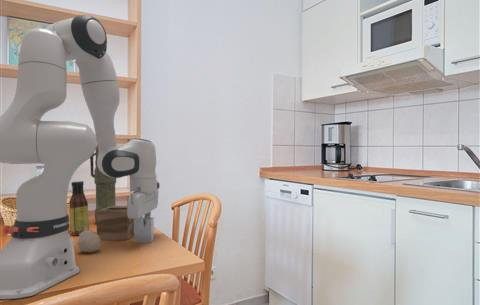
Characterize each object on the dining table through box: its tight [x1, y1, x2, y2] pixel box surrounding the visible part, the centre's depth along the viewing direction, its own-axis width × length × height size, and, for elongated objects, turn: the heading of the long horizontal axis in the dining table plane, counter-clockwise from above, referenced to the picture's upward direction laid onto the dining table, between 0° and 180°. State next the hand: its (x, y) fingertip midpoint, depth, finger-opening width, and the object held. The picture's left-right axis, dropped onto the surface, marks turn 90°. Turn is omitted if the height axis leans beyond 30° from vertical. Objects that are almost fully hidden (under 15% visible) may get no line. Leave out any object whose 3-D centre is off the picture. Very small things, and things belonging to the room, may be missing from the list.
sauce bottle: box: [69, 180, 90, 237], centre depth 122 cm, size 7×6×20 cm
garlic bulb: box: [77, 226, 102, 253], centre depth 101 cm, size 7×6×8 cm
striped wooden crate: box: [96, 205, 134, 241], centre depth 120 cm, size 11×11×10 cm
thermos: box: [89, 144, 117, 226], centre depth 141 cm, size 9×12×35 cm
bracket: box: [133, 216, 155, 243], centre depth 112 cm, size 2×6×8 cm, turn 87°
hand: (143, 226), depth 112 cm, fingers open, 4 cm apart
